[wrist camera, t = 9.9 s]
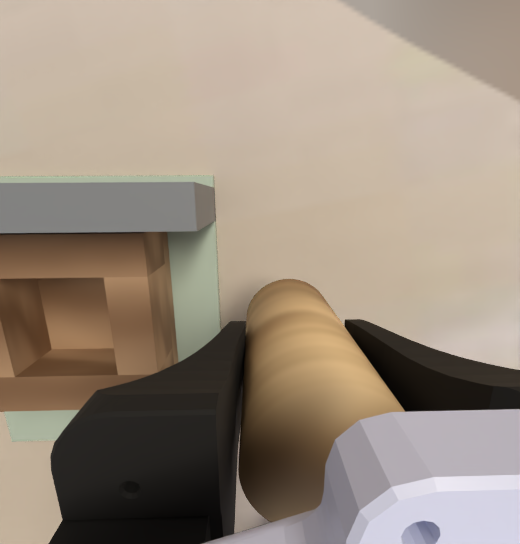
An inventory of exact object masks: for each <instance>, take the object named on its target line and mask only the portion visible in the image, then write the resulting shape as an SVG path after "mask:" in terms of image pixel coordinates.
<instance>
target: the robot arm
mask: <svg viewBox="0 0 520 544" xmlns="http://www.w3.org/2000/svg"><path fill="white" fill-rule="evenodd" d="M345 328H346V329H347V331H348V332H349V334H350V335H351V336H352V338H353V339H354V341H355V342H356V343H357V345H358V346H359V348H360V349H361V350H362V352H363V353H364V355H365V356H366V357H367V359H368V360H369V362H370V363H371V364H372V366H373V367H374V369H375V370H376V371H377V373H378V374H379V376H380V377H381V378H382V380H383V381H384V382H385V384H386V385H387V387H388V388H389V389H390V391H391V392H392V394H393V395H394V396H395V398H396V399H397V401H398V402H399V403H400V405H401V406H402V408H403V409H404V410H405V412H389V413H385V414H381V415H377V416H373V417H369V418H365V419H361V420H358V421H357V422H356V423H355V424H354V425H352V426H351V427H350V428H349V429H347V430H346V431H345V432H344V433H342V434H341V435H340V436H339V437H337V438H336V439H335V441H334V443H333V446H332V449H331V451H330V454H329V456H328V459H327V462H326V464H325V478H324V492H323V497H322V501H321V504H320V505H319V506H318V507H317V508H316V509H313V510H310V511H307V512H304V513H300V514H297V515H294V516H291V517H287V518H284V519H281V520H277V521H274V522H271V523H268V524H264V525H261V526H258V527H255V528H251V529H248V530H245V531H242V532H238V533H235V534H234V523H235V498H236V475H237V453H238V441H239V433H240V426H241V413H242V395H243V377H244V358H245V344H246V321H231V322H229V323H228V324H227V325H226V326H225V327H224V328H223V329H222V330H221V331H220V332H219V333H218V334H217V335H216V336H215V337H214V338H213V339H212V340H211V341H209V342H208V343H207V344H206V345H205V346H203V347H202V348H201V349H199V350H198V351H197V352H195V353H194V354H192V355H191V356H189V357H187V358H186V359H184V360H182V361H180V362H178V363H176V364H174V365H172V366H170V367H168V368H166V369H164V370H162V371H159V372H157V373H154V374H152V375H149V376H146V377H143V378H140V379H138V380H134V381H131V382H128V383H124V384H120V385H116V386H112V387H108V388H104V389H100V390H96V392H95V393H94V394H93V395H92V396H91V397H90V398H89V400H88V401H87V402H86V403H85V404H84V405H83V407H82V408H81V409H80V410H79V412H78V413H77V414H76V415H75V417H74V418H73V419H72V420H71V421H70V423H69V424H68V425H67V426H66V428H65V429H64V430H63V431H62V433H61V434H60V436H59V437H58V438H57V440H56V441H55V443H54V446H53V450H52V453H51V471H52V476H53V480H54V484H55V489H56V493H57V497H58V502H59V506H60V510H61V515H62V519H63V520H62V522H61V524H60V526H59V527H58V529H57V531H56V532H55V534H54V536H53V537H52V539H51V541H50V542H49V544H520V370H516V369H510V368H505V367H500V366H495V365H490V364H486V363H482V362H477V361H473V360H469V359H465V358H462V357H458V356H455V355H451V354H448V353H445V352H442V351H438V350H435V349H433V348H430V347H427V346H424V345H422V344H419V343H417V342H414V341H411V340H409V339H407V338H404V337H402V336H399V335H397V334H395V333H393V332H390V331H388V330H386V329H384V328H381V327H379V326H377V325H375V324H372V323H370V322H367V321H364V320H360V319H357V320H345Z"/></svg>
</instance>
